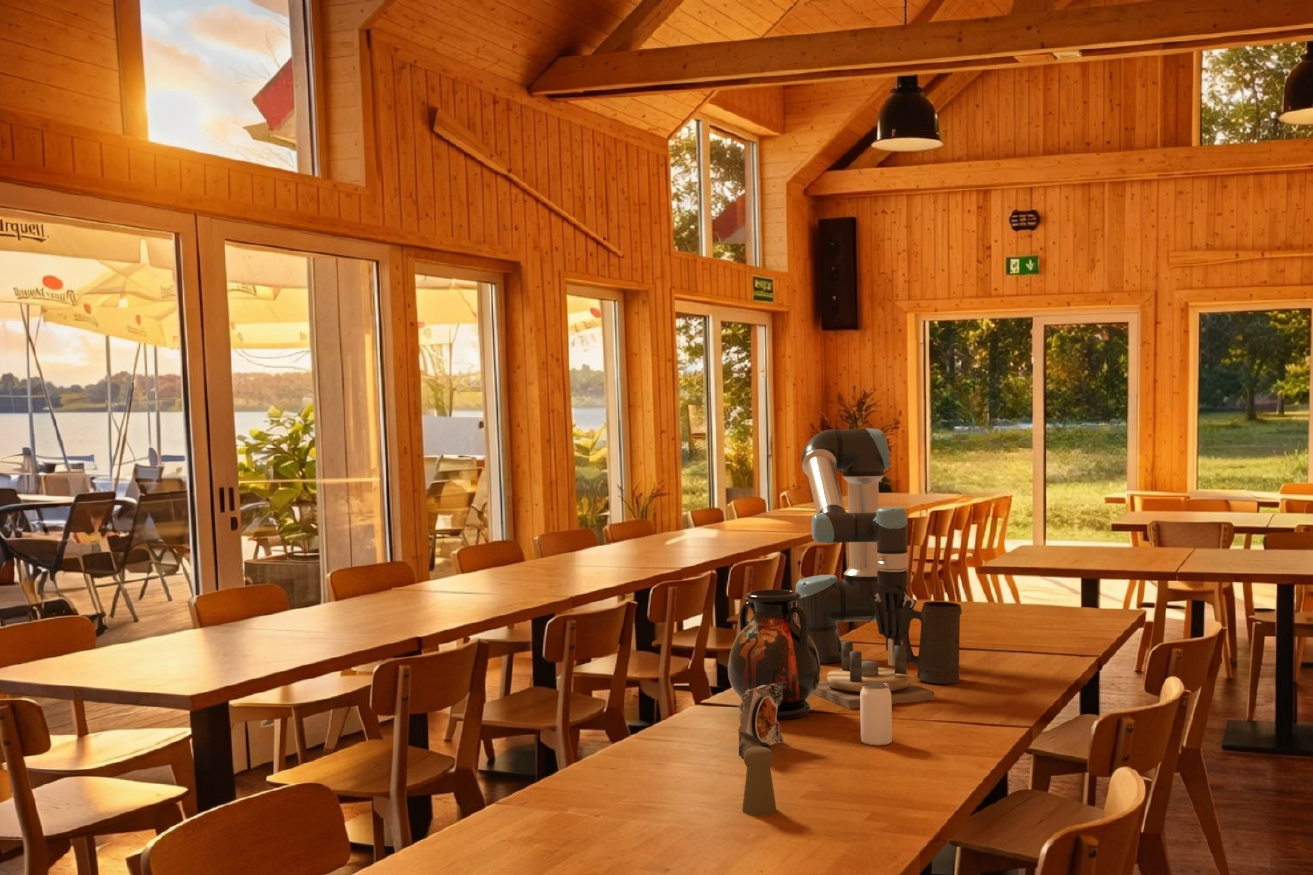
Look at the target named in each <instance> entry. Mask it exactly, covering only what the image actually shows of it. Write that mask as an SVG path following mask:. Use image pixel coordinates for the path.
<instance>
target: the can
mask: <svg viewBox="0 0 1313 875" xmlns="http://www.w3.org/2000/svg"><path fill="white" fill-rule="evenodd" d="M892 707H893V704H891V691H890V689H889V685H888V684H884V683H866V684H863V685H862V690H861V692H860V708H859V710H860V711H859V712H860V713H859V714H860V740H861V742H862V744H863V745H867V746H872V745H873V747H875V746H876V747H880V746H881V745H883V746H888V745H890V744H891V743H892V741H893V721H892V720H893V717H892V716H893V715H892V714H893V711H892Z"/></svg>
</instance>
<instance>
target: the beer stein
mask: <svg viewBox="0 0 1313 875" xmlns="http://www.w3.org/2000/svg"><path fill="white" fill-rule="evenodd" d="M962 612H963V611H962V606H961V605H960V603H955V602H950V601H949V602H948V601H925V602H923V604H922V607H921V611H919V610H915V609H913V611H912V617H911V621H912V620H913V619H918V620H919V622H920V624H921V625H920V635H919V648H918V655H915V654H914V653H913V648H912V646H911V641H910V634H909V633H908V636H906V637H903V638H902V639H901V644H902V645H905V646H906V665H909V664H913V665H915V666H916V667H917V668H918V669H917V670H918V671H917V675H916V678H917V679H919V680H920V681H923V682H927V683H933V684H943V685H946V684H947V685H949V684H958V683H959V682H960V669H961V667H960V636H961V634H960V631H961V630H960V629H961V627H960V626H961V621H960V620H961V614H962Z"/></svg>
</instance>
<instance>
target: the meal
mask: <svg viewBox="0 0 1313 875" xmlns="http://www.w3.org/2000/svg"><path fill="white" fill-rule="evenodd" d="M787 685H788V681H786V682H782V683H777V684H770V685H761V686H759V687H757V688H754V689H748V690H746V692H745V694H743V696H742V698H741V702H743V709H742V712H740V716H739V717H738V719H739V722H740V725H739V727H738V756H739V757H741V758H743V759H744V752H745V751H746V750H747V749H748V748H750V747H764V746H769V747H770V746H772V743H776V744H777V743H783V742H784V737H783V735H782V734H781V730H780V729H781V728H780V726H781V724H780V723H779V721H778V720H776V719H777V716H776V715H777V709H778V706H780V704H781V702H782V700H783V693H782V690H783V689H784V688H785V687H786V686H787Z"/></svg>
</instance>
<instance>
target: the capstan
mask: <svg viewBox="0 0 1313 875" xmlns="http://www.w3.org/2000/svg"><path fill="white" fill-rule="evenodd" d="M841 644H842V661H841V668H838V669H833V670H831V671H829V672H827V673H826V680H827V684H828V685H829V686H831V687H834V688H837V689H842V690H848V691H859V692H861V690H862V685H863V684H866V683H884V684H888V685H889V689H890V691H893V690H899V689H903V688H906V687H908V686H909V685H910V683H911V680H914V679H915V675H914V674H909V673H908V672H907V664H906V646H905V645H903V644H901V645H895V646H894V655H895V665H894V668H886V667H879V662H877V661H875V660H874V661H873V660H862V659H863V658H862V651H860V650H859V651H858V650H854V646H853V645H854V642H853V641H852V640H850V641H849V640H844V641H841Z"/></svg>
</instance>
